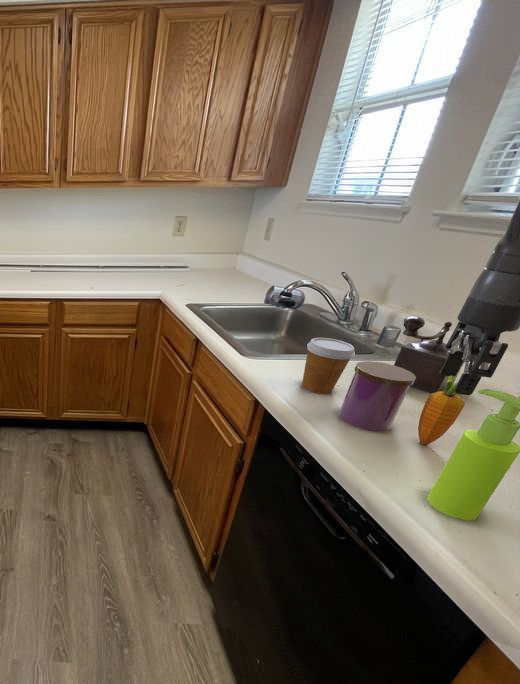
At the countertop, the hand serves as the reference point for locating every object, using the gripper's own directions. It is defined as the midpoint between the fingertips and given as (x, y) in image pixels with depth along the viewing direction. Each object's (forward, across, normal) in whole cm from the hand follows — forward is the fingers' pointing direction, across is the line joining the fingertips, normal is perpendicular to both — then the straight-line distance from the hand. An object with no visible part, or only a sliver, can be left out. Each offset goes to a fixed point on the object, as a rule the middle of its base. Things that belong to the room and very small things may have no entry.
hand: (453, 384), depth 77 cm
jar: (+14, +5, +9) cm, 17 cm away
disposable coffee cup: (+14, +18, +17) cm, 28 cm away
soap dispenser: (+14, -20, +1) cm, 24 cm away
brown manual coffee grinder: (+14, +34, -5) cm, 37 cm away
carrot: (+14, 0, 0) cm, 14 cm away
